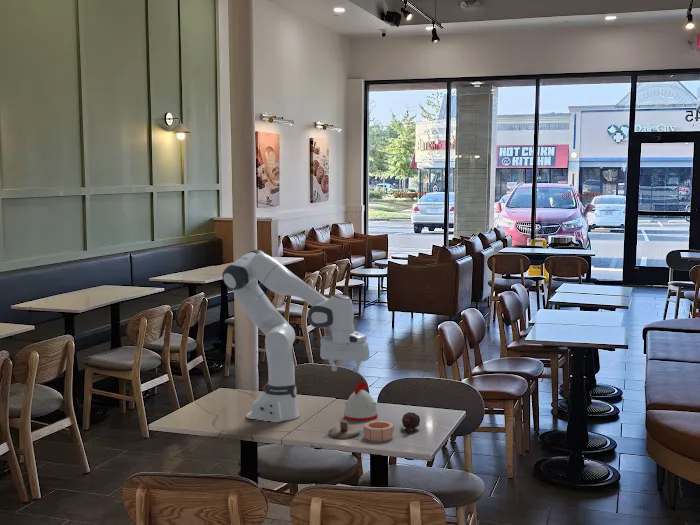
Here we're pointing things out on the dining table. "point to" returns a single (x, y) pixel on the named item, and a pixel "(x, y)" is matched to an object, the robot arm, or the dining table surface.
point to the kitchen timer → (360, 405)
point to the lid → (344, 431)
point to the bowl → (379, 431)
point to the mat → (347, 438)
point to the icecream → (410, 421)
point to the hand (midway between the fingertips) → (345, 371)
